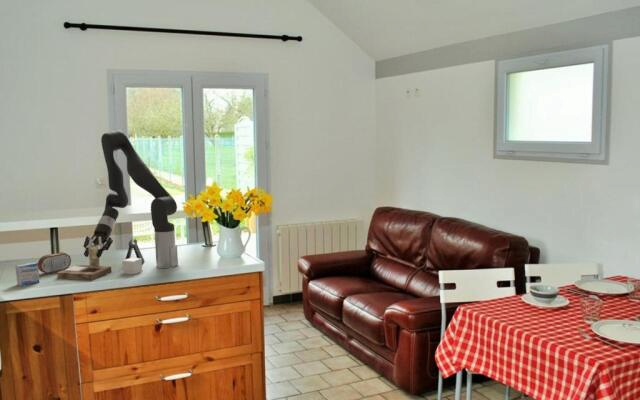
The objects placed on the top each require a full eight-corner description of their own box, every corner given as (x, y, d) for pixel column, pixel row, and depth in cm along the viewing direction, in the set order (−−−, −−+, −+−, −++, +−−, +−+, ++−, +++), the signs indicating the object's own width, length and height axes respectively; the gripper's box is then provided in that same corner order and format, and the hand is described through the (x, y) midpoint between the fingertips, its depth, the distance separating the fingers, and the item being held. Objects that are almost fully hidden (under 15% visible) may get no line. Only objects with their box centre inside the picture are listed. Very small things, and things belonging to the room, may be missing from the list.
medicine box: (21, 286, 254) (19, 266, 253) (16, 284, 257) (15, 265, 256) (39, 282, 260) (38, 263, 259) (35, 280, 263) (33, 261, 262)
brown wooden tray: (111, 271, 275) (111, 266, 275) (92, 280, 262) (92, 274, 261) (77, 270, 280) (77, 264, 279) (57, 278, 266) (57, 272, 266)
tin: (69, 267, 285) (67, 250, 284) (72, 268, 283) (71, 251, 282) (38, 274, 273) (36, 256, 272) (41, 275, 271) (39, 257, 270)
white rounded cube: (142, 271, 276) (141, 258, 275) (134, 274, 271) (133, 261, 270) (131, 270, 278) (130, 257, 277) (123, 273, 273) (122, 260, 272)
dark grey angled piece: (123, 265, 286) (121, 241, 285) (125, 262, 292) (124, 238, 291) (142, 264, 288) (141, 240, 286) (144, 261, 293) (143, 238, 292)
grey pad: (87, 267, 274) (87, 266, 274) (77, 271, 267) (77, 270, 267) (74, 266, 276) (74, 266, 276) (64, 270, 269) (64, 270, 269)
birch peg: (101, 266, 286) (100, 246, 284) (96, 268, 281) (94, 248, 280) (93, 266, 287) (92, 245, 285) (88, 268, 283) (86, 247, 281)
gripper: (88, 222, 290) (74, 251, 280) (114, 223, 287) (101, 252, 277) (95, 231, 296) (82, 259, 286) (121, 231, 292) (108, 261, 283)
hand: (91, 256), depth 282 cm, fingers open, 6 cm apart
